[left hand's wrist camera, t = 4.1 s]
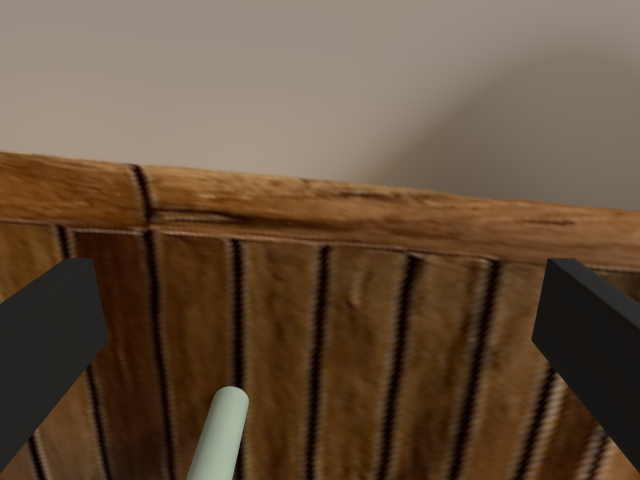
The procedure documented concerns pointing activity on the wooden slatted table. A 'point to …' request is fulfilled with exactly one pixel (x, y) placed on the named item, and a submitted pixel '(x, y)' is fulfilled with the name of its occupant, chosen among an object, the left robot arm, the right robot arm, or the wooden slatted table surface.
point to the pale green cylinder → (220, 436)
